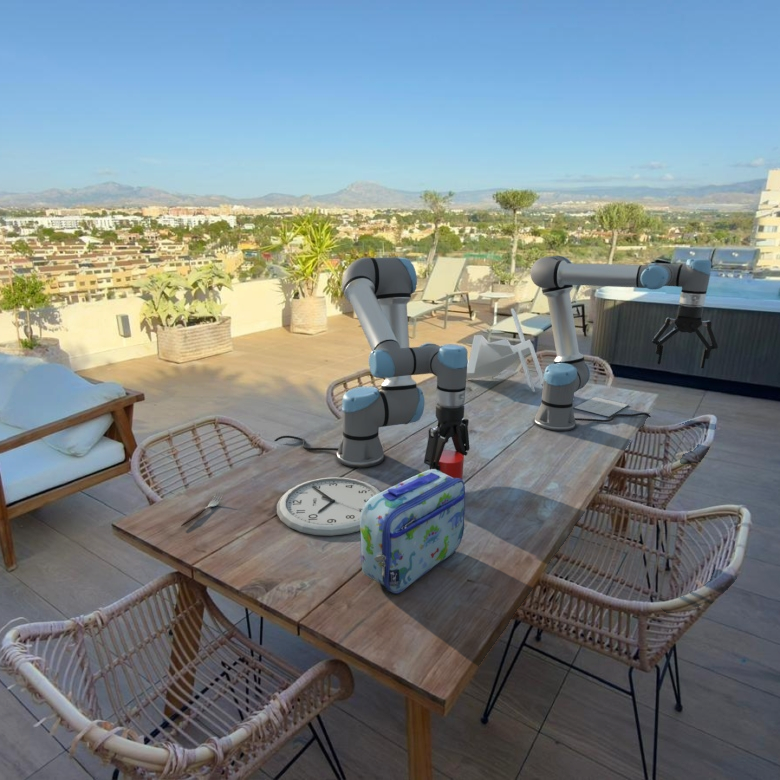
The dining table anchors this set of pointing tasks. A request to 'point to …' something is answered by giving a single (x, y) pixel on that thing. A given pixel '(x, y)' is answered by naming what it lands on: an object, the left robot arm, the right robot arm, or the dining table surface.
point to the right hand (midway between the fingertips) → (679, 365)
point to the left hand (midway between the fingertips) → (446, 480)
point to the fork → (211, 504)
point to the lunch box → (411, 528)
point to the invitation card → (601, 406)
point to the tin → (451, 463)
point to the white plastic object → (501, 356)
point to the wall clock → (325, 506)
